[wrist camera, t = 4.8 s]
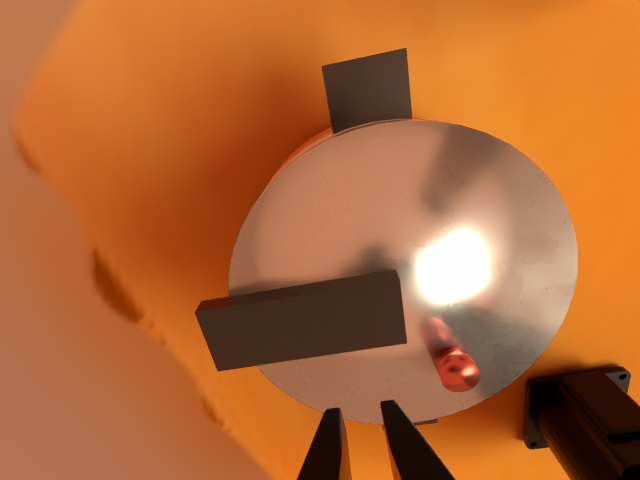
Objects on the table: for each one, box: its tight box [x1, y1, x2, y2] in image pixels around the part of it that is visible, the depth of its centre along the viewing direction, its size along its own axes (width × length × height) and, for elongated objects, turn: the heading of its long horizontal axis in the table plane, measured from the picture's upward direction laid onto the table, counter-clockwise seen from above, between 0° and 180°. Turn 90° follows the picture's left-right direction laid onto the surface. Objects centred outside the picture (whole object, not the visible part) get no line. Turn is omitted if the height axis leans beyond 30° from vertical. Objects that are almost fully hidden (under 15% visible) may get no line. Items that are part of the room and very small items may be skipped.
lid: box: [195, 119, 578, 424], centre depth 14 cm, size 14×15×2 cm
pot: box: [257, 48, 437, 430], centre depth 17 cm, size 18×14×5 cm
